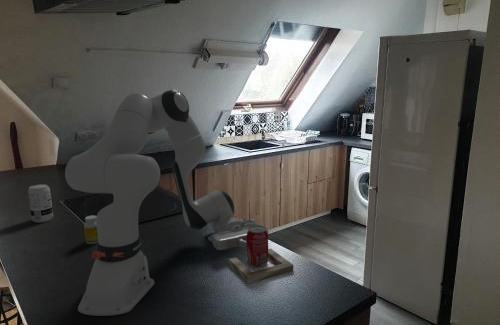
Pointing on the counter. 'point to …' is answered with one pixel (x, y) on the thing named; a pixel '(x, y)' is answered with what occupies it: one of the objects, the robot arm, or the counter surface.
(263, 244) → the soda can
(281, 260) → the birch bay
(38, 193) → the supplement can
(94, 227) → the supplement bottle
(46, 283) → the counter surface
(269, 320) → the counter surface
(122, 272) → the robot arm
